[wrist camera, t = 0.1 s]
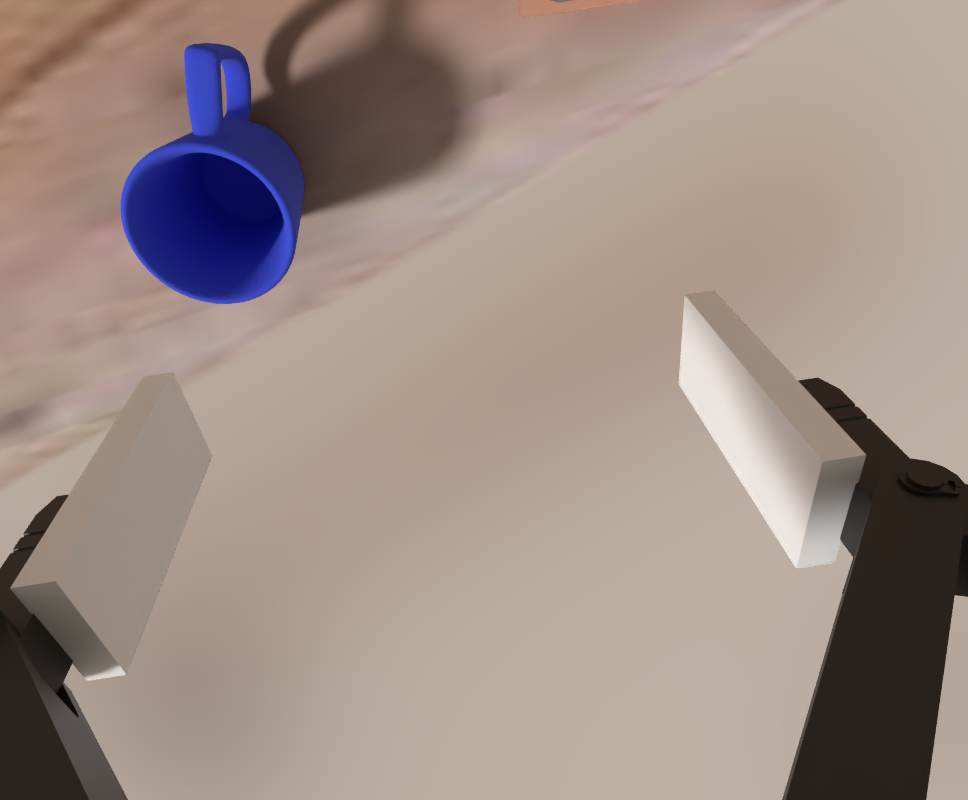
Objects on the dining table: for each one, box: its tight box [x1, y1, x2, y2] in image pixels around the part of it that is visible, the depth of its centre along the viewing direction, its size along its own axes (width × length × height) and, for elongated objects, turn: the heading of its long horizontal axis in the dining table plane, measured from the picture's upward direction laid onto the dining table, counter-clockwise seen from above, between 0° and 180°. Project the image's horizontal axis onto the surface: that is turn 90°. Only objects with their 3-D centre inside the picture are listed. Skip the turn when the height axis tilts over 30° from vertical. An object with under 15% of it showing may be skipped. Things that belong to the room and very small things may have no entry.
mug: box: [121, 43, 305, 304], centre depth 35 cm, size 8×12×10 cm
